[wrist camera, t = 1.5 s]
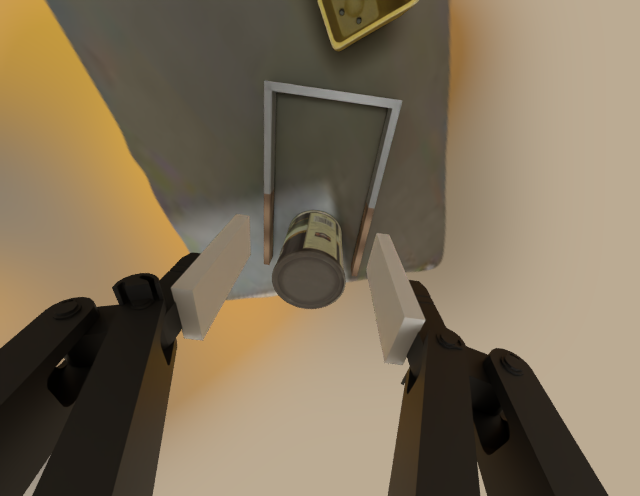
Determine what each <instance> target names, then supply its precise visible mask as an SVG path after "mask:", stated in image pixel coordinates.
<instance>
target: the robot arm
mask: <svg viewBox="0 0 640 496" xmlns="http://www.w3.org/2000/svg"><path fill="white" fill-rule="evenodd" d="M250 255H251V252H250V222H249V216H247V215H239V214H236V215H235V216H234V217H233V219H232V220H231V221H230V222H229V223H228V224H227V225H226V226H225V228H224V229H223V230H222V231H221V232H220V233H219V234H218V235H217V236H216V238H215V239H214V240H213V241H212V242H211V243H210V244H209V245H208V247H207V248H206V249H205V250H204V251H203V252H202V253H201V254H200V253H193V252H192V253H190V254H188V255H186V256H184V257H182V258H181V259H180V260H179V261H178V262H177V263H176V264H175V266H173V268H171V270H170V271H168V272H167V273H166V275H164V277H162V279H161V280H159V278H158V277H157V276H155V275H153V274H150V273H140V274H135V275H131V276H128V277H125V278H123V279H122V280H120V281H118V282H117V283H116V284H115V285H114V286H113V287H112V289H113V291H114V293H115V296H116V298H117V300H118V303H119V305H111V306H101V307H96V305H95V303H94V301H92V300H91V299H90V298H86V297H78V298H71V299H67V300H64V301H61V302H59V303H57V304H54V305H52V306H51V307H49V308H48V309H46V310H45V311H44V312H43V313H41V314H40V315H39V316H38V317H37V318H36V319H34V320H33V321H32V322H31V323H30V324H29V325H27V326H26V327H25V328H24V329H23V330H21V331H20V332H19V333H18V334H17V335H16V336H14V337H13V338H12V339H11V340H10V341H9V342H7V343H6V344H5V345H4V346H3V347H2V348H0V496H23V494H24V493H25V491H26V490H27V488H28V487H29V486H30V484H31V483H32V481H33V480H34V478H35V477H36V475H37V474H38V472H39V471H40V469H41V468H42V466H43V465H44V463H45V462H46V461H47V459H48V458H49V456H50V455H51V456H50V458H49V460H48V463H47V465H46V467H45V469H44V471H43V473H42V476H41V478H40V480H39V482H38V484H37V486H36V489H35V491H34V493H33V495H32V496H152V494H153V489H154V483H155V476H156V470H157V464H158V458H159V451H160V446H161V440H162V434H163V428H164V422H165V416H166V410H167V404H168V398H169V392H170V386H171V380H172V374H173V368H174V362H175V356H176V350H177V340H176V337H177V335H178V334H179V332H180V331H181V329H182V332H183V336H184V338H186V339H195V340H203V339H204V337H205V335H206V334H207V332H208V330H209V328H210V326H211V324H212V323H213V321H214V319H215V317H216V316H217V314H218V312H219V310H220V308H221V307H222V305H223V303H224V301H225V300H226V298H227V296H228V294H229V292H230V291H231V289H232V287H233V285H234V283H235V282H236V280H237V278H238V276H239V274H240V273H241V271H242V269H243V267H244V265H245V264H246V262H247V260H248V258H249V256H250ZM366 271H367V276H368V281H369V286H370V291H371V296H372V301H373V306H374V311H375V316H376V321H377V326H378V331H379V336H380V342H381V346H382V351H383V357H384V361H385V363H391V364H398V365H403V363H404V361H405V359H406V357H407V358H408V362H409V365H410V367H409V369H408V371H407V373H406V375H405V376H404V378H403V380H402V382H401V384H403V385H404V383H405V388H404V394H403V400H402V406H401V413H400V419H399V426H398V432H397V439H396V446H395V452H394V459H393V465H392V472H391V478H390V485H389V491H388V496H480V488H479V478H478V467H477V462H478V465H479V469H480V472H481V475H482V479H483V482H484V486H485V489H486V493H487V496H608V494H607V492H606V491H605V489H604V487H603V486H602V484H601V482H600V481H599V479H598V478H597V476H596V474H595V473H594V471H593V469H592V468H591V466H590V464H589V463H588V461H587V459H586V458H585V456H584V454H583V453H582V451H581V450H580V448H579V446H578V445H577V443H576V441H575V440H574V438H573V436H572V435H571V433H570V431H569V430H568V428H567V426H566V425H565V423H564V422H563V420H562V418H561V417H560V415H559V413H558V412H557V410H556V408H555V407H554V405H553V403H552V402H551V400H550V398H549V397H548V395H547V394H546V392H545V390H544V389H543V387H542V385H541V384H540V382H539V380H538V379H537V377H536V375H535V374H534V372H533V371H532V369H531V368H530V367H529V365H528V364H527V363H526V362H525V361H524V360H523V359H521V358H520V357H519V356H517V355H516V354H514V353H512V352H510V351H508V350H505V349H499V348H496V349H493V350H492V351H491V352H490V353H489V354H488V355H487V354H485V353H482V352H479V351H477V350H474V349H471V348H469V347H467V346H465V343H464V342H463V340H462V339H461V338H460V337H459V336H458V335H457V334H456V333H455V332H453V331H451V330H449V329H447V328H446V326H445V325H444V322H443V320H442V318H441V316H440V315H439V312H438V311H437V309H436V307H435V305H434V303H433V301H432V299H431V298H430V295H429V293H428V291H427V289H426V288H425V287H424V286H423V285H422V284H421V283H420V282H419V281H412V280H408V278H407V275H406V273H405V271H404V268H403V266H402V264H401V261H400V259H399V257H398V254H397V252H396V250H395V247H394V245H393V243H392V240H391V238H390V236H389V235H388V234H380V233H376V237H375V240H374V244H373V247H372V251H371V255H370V258H369V262H368V265H367V269H366ZM63 358H64V359H65V360H64V361H63V362H62V364H60V365H59V366H58V367H56V366H57V365H58V363H59V362H60V361H61V360H62V359H63ZM51 453H52V454H51Z"/></svg>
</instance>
